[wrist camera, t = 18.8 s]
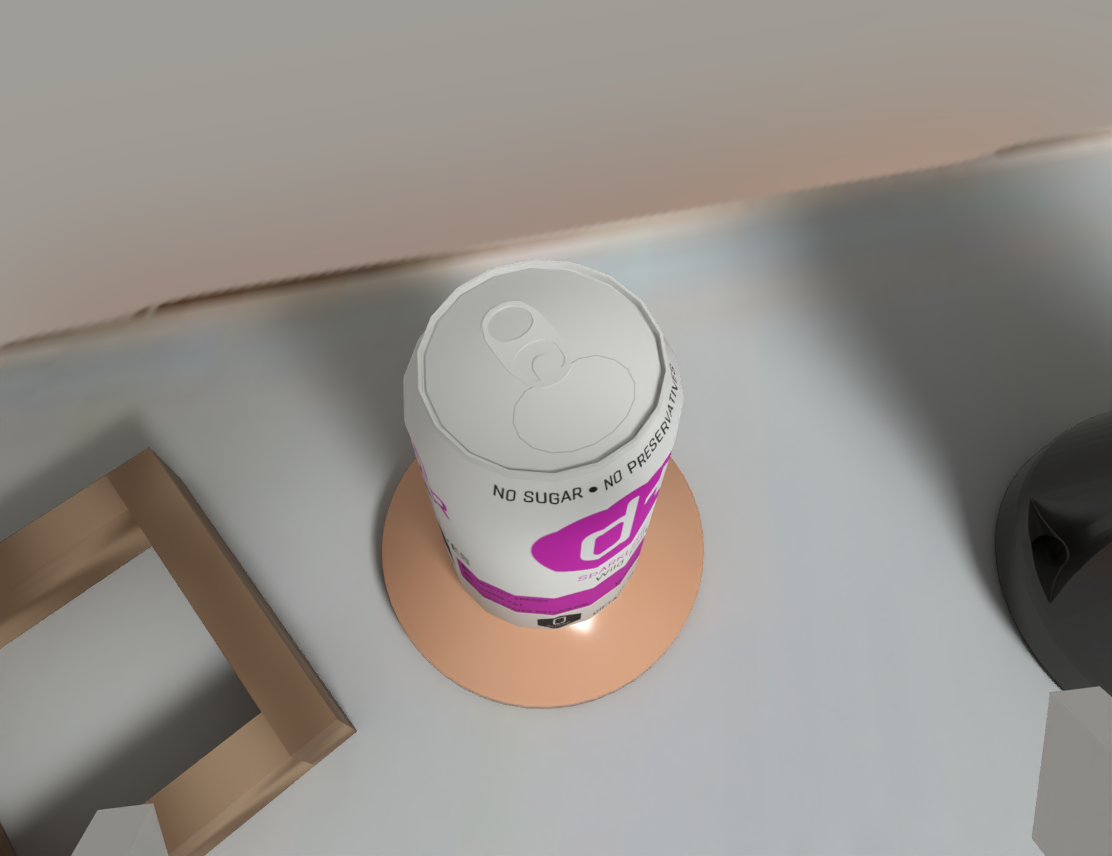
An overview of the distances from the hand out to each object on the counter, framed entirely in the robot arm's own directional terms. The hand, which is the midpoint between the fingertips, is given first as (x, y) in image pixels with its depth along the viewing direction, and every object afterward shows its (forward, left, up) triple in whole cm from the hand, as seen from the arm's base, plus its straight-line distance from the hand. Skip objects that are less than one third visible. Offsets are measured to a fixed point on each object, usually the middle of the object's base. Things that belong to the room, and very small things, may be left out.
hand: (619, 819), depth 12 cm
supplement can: (-7, -10, -21) cm, 24 cm away
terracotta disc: (-7, -10, -22) cm, 25 cm away
